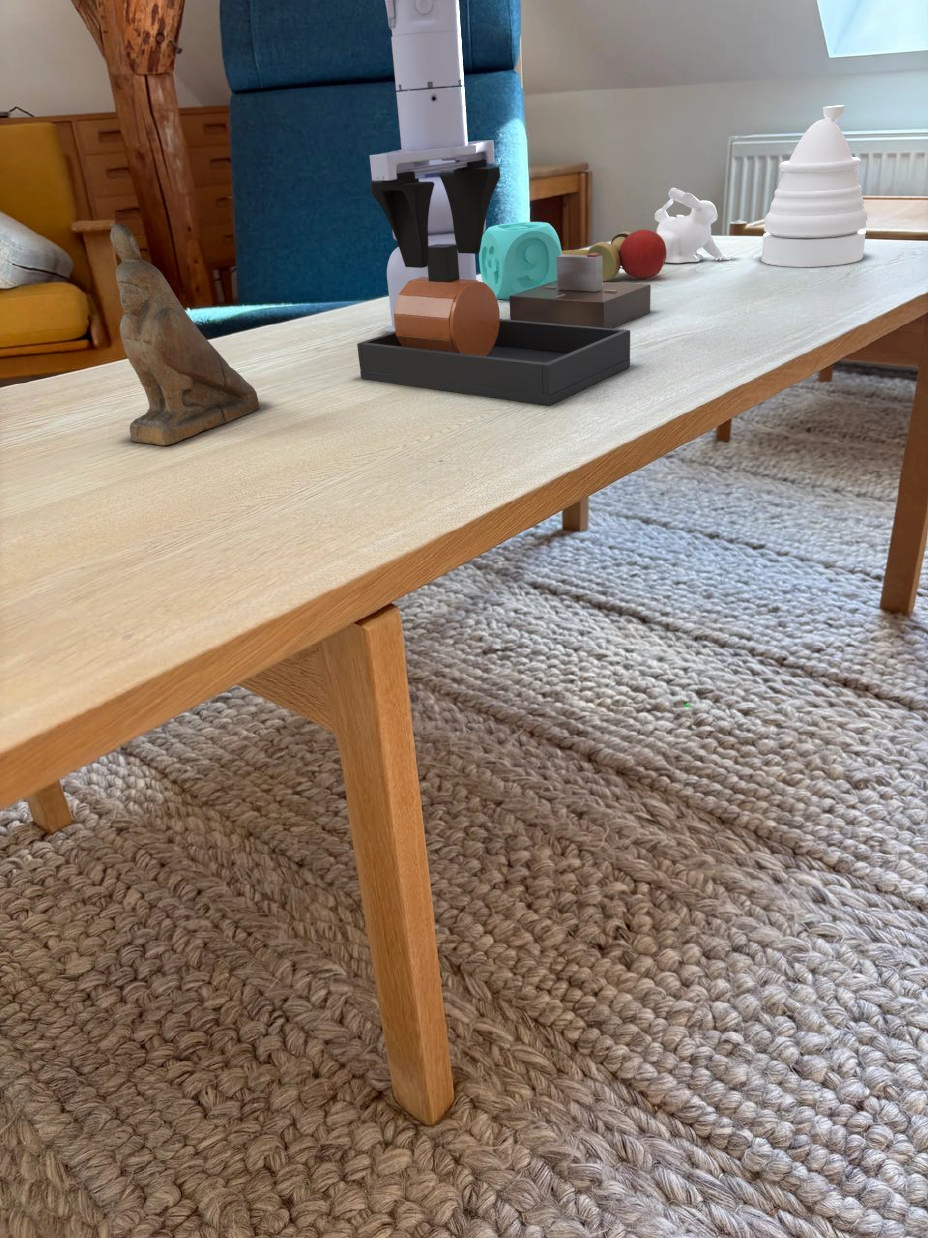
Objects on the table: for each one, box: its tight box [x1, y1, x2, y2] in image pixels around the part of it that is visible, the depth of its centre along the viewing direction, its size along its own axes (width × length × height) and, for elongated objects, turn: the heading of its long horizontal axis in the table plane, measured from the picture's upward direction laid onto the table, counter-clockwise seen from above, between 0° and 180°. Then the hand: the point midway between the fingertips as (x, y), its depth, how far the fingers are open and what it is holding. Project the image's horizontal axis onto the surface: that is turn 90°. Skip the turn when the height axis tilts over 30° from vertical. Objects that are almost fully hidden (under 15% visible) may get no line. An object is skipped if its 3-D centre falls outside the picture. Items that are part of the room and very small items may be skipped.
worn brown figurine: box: [109, 222, 260, 446], centre depth 78 cm, size 12×6×18 cm, turn 145°
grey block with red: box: [557, 253, 604, 292], centre depth 106 cm, size 5×1×4 cm, turn 52°
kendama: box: [561, 228, 667, 282], centre depth 129 cm, size 8×6×18 cm
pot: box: [394, 244, 501, 356], centre depth 90 cm, size 10×7×7 cm
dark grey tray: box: [356, 318, 631, 406], centre depth 89 cm, size 21×13×3 cm, turn 52°
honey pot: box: [761, 105, 868, 268], centre depth 127 cm, size 13×13×18 cm
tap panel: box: [508, 280, 652, 329], centre depth 108 cm, size 12×10×3 cm
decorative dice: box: [478, 221, 563, 301], centre depth 122 cm, size 8×8×8 cm
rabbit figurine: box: [654, 187, 733, 264], centre depth 134 cm, size 12×8×10 cm, turn 50°
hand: (443, 259), depth 88 cm, fingers open, 7 cm apart
